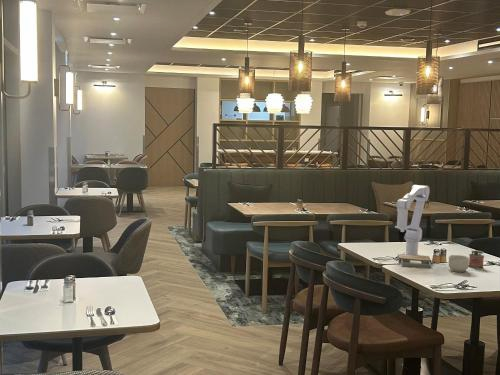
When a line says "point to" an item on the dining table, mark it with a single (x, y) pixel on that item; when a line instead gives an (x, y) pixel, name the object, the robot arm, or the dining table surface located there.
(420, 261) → the tile
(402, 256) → the board
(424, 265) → the tray
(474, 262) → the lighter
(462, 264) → the teacup
